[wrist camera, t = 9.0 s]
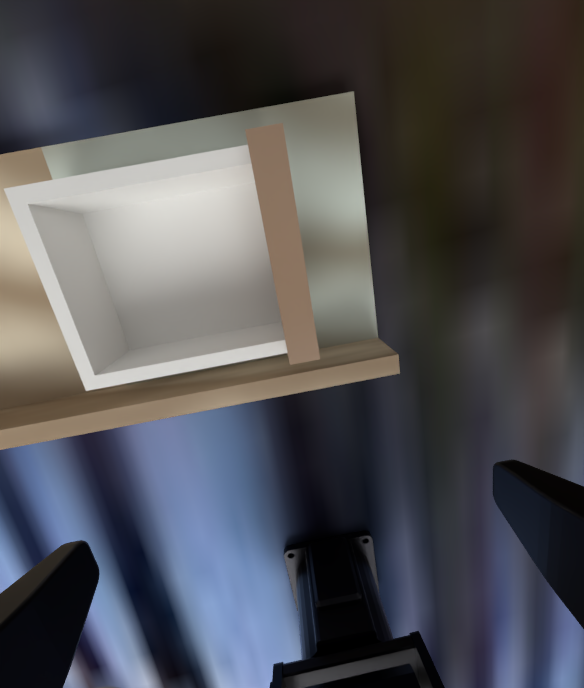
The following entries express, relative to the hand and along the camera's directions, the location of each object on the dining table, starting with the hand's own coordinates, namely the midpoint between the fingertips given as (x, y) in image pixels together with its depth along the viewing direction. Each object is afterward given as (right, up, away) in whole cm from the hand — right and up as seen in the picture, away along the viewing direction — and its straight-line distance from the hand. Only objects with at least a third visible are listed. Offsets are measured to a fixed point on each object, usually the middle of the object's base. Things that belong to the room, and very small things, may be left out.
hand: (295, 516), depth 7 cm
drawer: (-5, +8, +9) cm, 13 cm away
